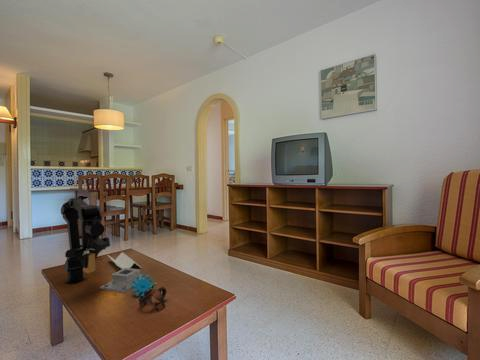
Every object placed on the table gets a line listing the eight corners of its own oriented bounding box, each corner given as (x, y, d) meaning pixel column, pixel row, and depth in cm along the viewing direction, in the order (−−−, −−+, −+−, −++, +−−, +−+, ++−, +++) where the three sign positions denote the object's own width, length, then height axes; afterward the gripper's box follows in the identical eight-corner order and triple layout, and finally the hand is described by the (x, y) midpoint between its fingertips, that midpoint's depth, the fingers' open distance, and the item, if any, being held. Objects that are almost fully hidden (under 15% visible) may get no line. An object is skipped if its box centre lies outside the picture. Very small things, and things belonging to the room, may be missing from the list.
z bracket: (122, 265, 157) (129, 257, 160) (134, 277, 138) (142, 268, 141) (107, 255, 151) (115, 246, 154) (118, 266, 133) (126, 256, 135)
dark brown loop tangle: (156, 317, 93) (144, 299, 93) (142, 320, 97) (131, 303, 97) (175, 295, 104) (165, 279, 103) (162, 299, 108) (152, 284, 108)
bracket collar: (100, 289, 115) (99, 277, 115) (127, 274, 132) (127, 264, 132) (124, 292, 111) (124, 281, 111) (149, 277, 128) (149, 266, 128)
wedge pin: (83, 272, 110) (83, 254, 110) (89, 269, 113) (89, 252, 113) (89, 272, 109) (89, 255, 109) (95, 270, 112) (95, 253, 112)
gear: (130, 296, 104) (131, 274, 111) (128, 302, 108) (130, 280, 114) (157, 294, 109) (156, 273, 116) (154, 299, 113) (154, 278, 119)
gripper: (84, 239, 100) (85, 276, 100) (118, 229, 118) (119, 261, 118) (64, 237, 103) (64, 273, 103) (100, 228, 121) (100, 259, 121)
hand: (89, 266), depth 111 cm, fingers closed on wedge pin, 3 cm apart
